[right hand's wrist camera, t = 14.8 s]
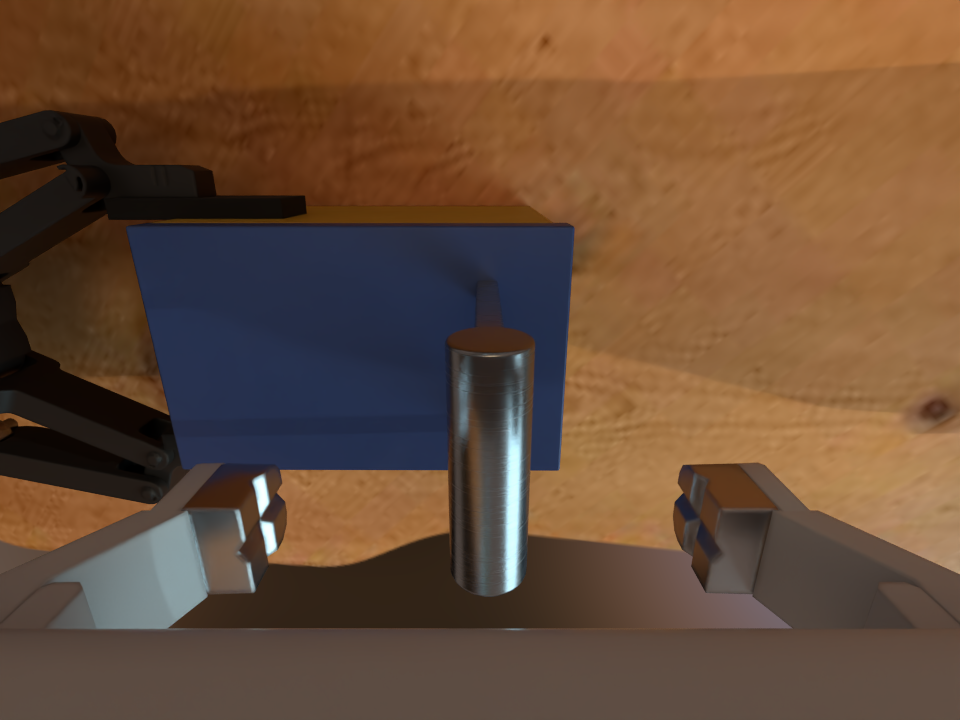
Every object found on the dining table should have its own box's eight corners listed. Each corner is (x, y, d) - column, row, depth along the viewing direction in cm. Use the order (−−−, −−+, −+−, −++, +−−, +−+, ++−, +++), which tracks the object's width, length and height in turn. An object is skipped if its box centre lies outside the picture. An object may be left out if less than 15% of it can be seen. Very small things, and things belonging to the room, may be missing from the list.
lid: (569, 222, 17) (650, 268, 9) (555, 455, 20) (606, 650, 12) (147, 222, 17) (-167, 268, 9) (198, 453, 20) (0, 647, 12)
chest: (530, 205, 26) (554, 222, 17) (525, 367, 30) (543, 454, 20) (263, 205, 27) (148, 222, 17) (286, 367, 30) (198, 453, 21)
